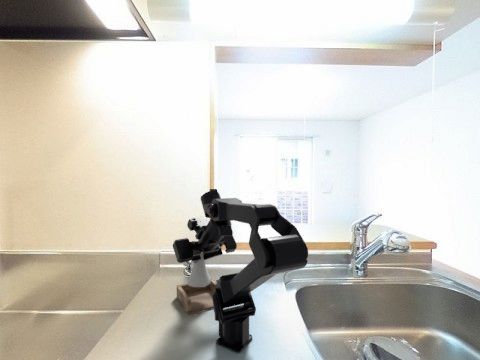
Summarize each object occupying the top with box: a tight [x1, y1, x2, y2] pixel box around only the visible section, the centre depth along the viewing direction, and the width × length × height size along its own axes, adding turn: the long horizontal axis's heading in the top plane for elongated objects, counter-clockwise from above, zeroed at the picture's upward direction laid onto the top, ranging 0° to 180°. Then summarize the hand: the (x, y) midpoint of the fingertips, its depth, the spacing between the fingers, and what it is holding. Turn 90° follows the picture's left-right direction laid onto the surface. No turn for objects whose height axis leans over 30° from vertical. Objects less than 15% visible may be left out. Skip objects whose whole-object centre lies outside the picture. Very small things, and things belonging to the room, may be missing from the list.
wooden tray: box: [176, 277, 217, 316], centre depth 81 cm, size 12×12×4 cm
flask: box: [187, 252, 211, 287], centre depth 80 cm, size 7×7×10 cm
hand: (197, 260), depth 81 cm, fingers closed on flask, 3 cm apart
